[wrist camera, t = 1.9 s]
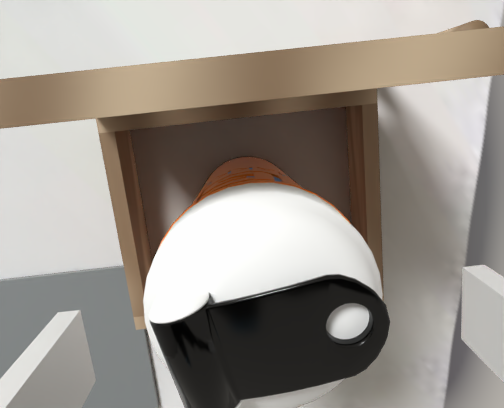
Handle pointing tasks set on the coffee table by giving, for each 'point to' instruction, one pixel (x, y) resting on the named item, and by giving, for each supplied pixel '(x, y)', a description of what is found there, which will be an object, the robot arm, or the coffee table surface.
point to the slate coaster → (96, 328)
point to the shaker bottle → (262, 294)
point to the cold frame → (247, 110)
